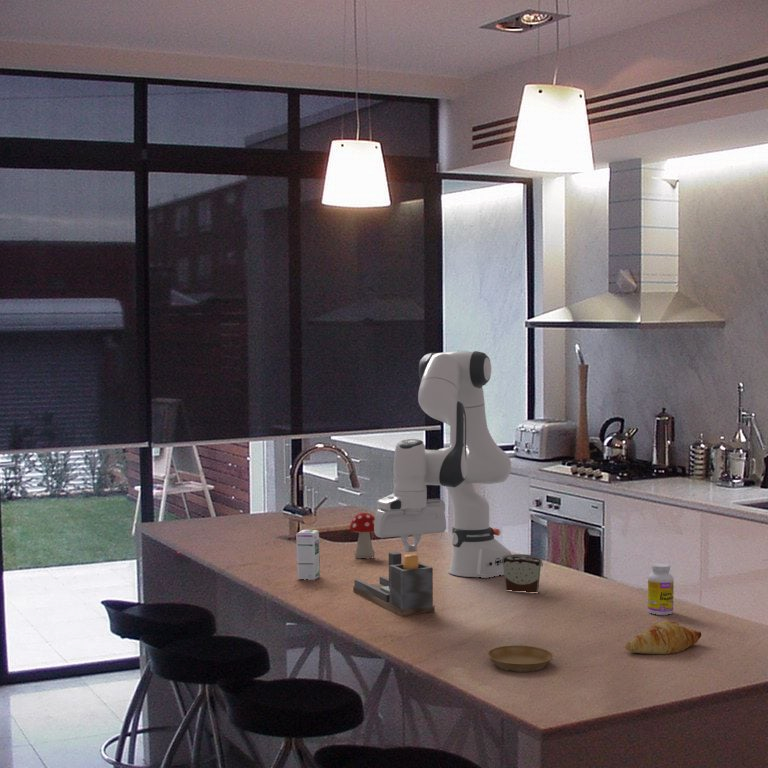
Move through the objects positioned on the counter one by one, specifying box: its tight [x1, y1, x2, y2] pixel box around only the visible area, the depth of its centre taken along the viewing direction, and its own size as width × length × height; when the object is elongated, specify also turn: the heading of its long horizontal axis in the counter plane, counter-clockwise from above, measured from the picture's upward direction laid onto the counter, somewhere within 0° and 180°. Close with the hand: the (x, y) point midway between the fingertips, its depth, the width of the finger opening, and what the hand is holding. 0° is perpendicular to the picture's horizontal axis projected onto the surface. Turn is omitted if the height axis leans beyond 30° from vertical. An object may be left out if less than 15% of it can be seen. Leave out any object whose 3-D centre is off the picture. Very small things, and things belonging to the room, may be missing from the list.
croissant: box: [624, 620, 702, 655], centre depth 275 cm, size 21×10×8 cm, turn 115°
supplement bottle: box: [647, 562, 675, 616], centre depth 309 cm, size 7×7×13 cm
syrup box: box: [295, 529, 321, 581], centre depth 356 cm, size 6×6×14 cm
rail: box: [352, 561, 435, 617], centre depth 325 cm, size 10×32×12 cm, turn 25°
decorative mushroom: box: [349, 512, 376, 559], centre depth 387 cm, size 10×9×15 cm
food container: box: [501, 553, 544, 593], centre depth 337 cm, size 12×6×10 cm, turn 65°
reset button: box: [402, 553, 419, 570], centre depth 313 cm, size 4×4×6 cm
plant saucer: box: [487, 644, 554, 672], centre depth 263 cm, size 15×15×3 cm
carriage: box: [380, 551, 403, 594], centre depth 323 cm, size 6×8×12 cm
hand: (410, 551), depth 313 cm, fingers closed
